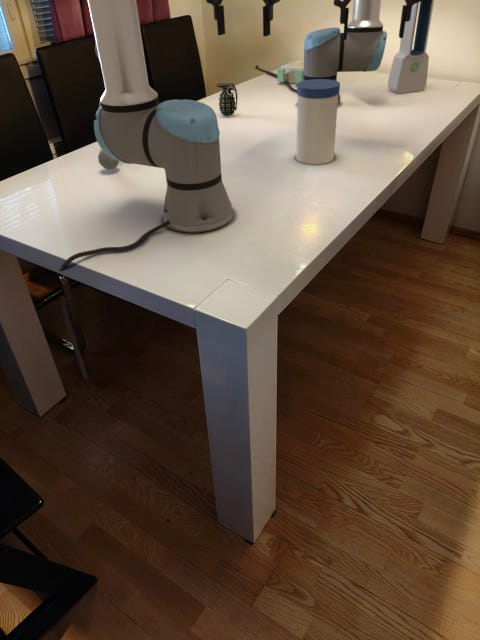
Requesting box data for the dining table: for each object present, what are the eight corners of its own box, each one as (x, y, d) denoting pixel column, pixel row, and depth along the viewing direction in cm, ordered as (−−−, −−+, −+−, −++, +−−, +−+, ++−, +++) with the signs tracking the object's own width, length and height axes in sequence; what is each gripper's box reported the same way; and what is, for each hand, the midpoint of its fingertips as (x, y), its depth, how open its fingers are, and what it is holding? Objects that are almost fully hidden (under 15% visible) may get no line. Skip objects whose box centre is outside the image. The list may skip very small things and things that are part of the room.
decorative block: (300, 55, 216) (341, 58, 206) (299, 71, 220) (340, 74, 210) (268, 66, 200) (311, 70, 190) (268, 83, 204) (310, 87, 194)
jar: (289, 161, 132) (291, 88, 121) (306, 149, 139) (308, 79, 128) (324, 166, 128) (329, 92, 117) (339, 154, 134) (345, 82, 123)
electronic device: (396, 93, 181) (409, -3, 162) (386, 89, 187) (397, -4, 168) (425, 90, 183) (442, -6, 165) (415, 85, 189) (429, -7, 170)
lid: (289, 95, 122) (289, 87, 121) (307, 86, 129) (307, 77, 128) (329, 99, 117) (329, 90, 116) (345, 89, 124) (346, 80, 123)
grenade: (217, 117, 168) (214, 86, 162) (221, 112, 172) (219, 82, 166) (235, 117, 166) (233, 86, 160) (239, 113, 171) (238, 82, 165)
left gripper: (294, -71, 114) (292, 33, 127) (203, -65, 124) (210, 31, 137) (281, -70, 109) (280, 38, 122) (187, -64, 119) (196, 36, 132)
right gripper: (327, -68, 107) (321, 42, 120) (445, -75, 104) (427, 38, 117) (327, -68, 113) (322, 37, 126) (439, -75, 109) (422, 33, 122)
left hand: (243, 35), depth 129 cm, fingers open, 13 cm apart
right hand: (372, 38), depth 121 cm, fingers open, 13 cm apart
